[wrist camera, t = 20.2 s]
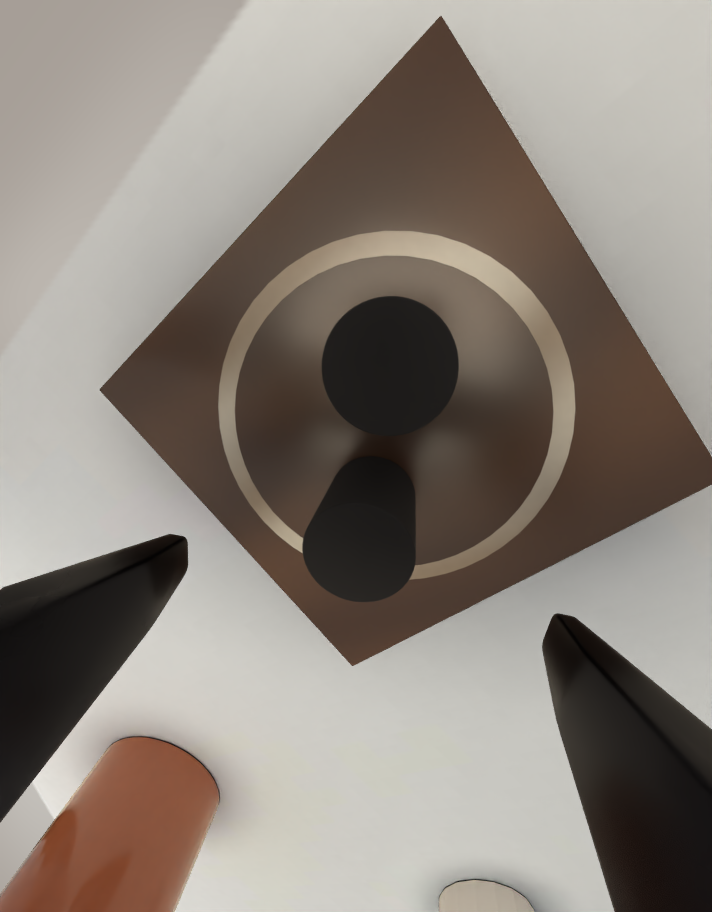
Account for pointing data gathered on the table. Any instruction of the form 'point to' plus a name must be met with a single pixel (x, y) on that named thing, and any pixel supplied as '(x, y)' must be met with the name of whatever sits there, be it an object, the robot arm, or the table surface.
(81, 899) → the pedestal
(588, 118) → the table surface
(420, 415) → the dot
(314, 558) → the dot
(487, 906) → the off-white cylinder
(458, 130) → the board
